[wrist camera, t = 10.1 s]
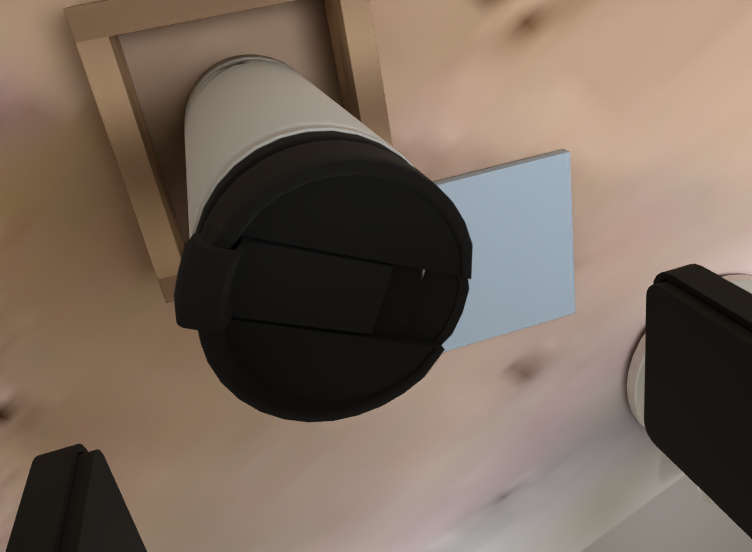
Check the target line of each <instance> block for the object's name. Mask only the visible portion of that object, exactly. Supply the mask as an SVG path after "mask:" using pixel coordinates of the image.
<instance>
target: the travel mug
mask: <svg viewBox="0 0 752 552" xmlns="http://www.w3.org/2000/svg"><path fill="white" fill-rule="evenodd" d="M184 133H185V154H186V175H187V196H188V217H189V238H190V239H189V241H188V242H187V244H186V245H185V247H184V250H183V254H182V258H181V261H180V265H179V269H178V273H177V279H176V285H175V290H174V303H175V312H176V321H177V324H178V325H179V326H181V327H183V328H187V329H194V330H198V333H199V337H200V342H201V345H202V348H203V350H204V353H205V356H206V359H207V362H208V363H209V365H210V366H211V368H212V369H213V371H214V372H215V374H216V375H217V377H218V378H219V380H220V381H221V383H222V384H223V385H224V386H225V387H227V388H228V389H229V390H230V391H231V392H232V393H233V394H234V395H235V396H236V397H237V398H238V399H240V400H241V401H243V402H245V403H246V404H248V405H250V406H252V407H253V408H255V409H257V410H259V411H260V412H263V413H266V414H269V415H273V416H276V417H279V418H282V419H286V420H295V421H303V422H321V421H335V420H339V419H344V418H348V417H353V416H357V415H360V414H363V413H365V412H368V411H370V410H373V409H375V408H378V407H380V406H383V405H384V404H386V403H388V402H390V401H391V400H393V399H395V398H396V397H398V396H400V395H402V394H403V393H405V392H406V391H407V390H409V389H410V388H411V387H412V386H414V385H415V384H416V383H417V382H419V381H420V380H421V379H422V378H424V377H425V375H426V374H427V373H428V371H429V370H430V369H431V367H432V366H433V365H434V363H435V362H436V361H437V359H438V358H439V357H440V355H441V354H442V353H443V351H444V350H445V349H444V348H443V346H442V344H443V343H444V342H445V341H446V340H447V339H448V338H449V337H450V336H451V335H452V334H453V332H454V330H455V328H456V326H457V324H458V321H459V319H460V317H461V315H462V313H463V310H464V307H465V303H466V299H467V296H468V292H469V282H468V279H471V276H472V252H473V244H472V241H471V238H470V235H469V232H468V229H467V226H466V223H465V221H464V219H463V218H462V216H461V214H460V213H459V211H458V209H457V208H456V206H455V204H454V203H453V201H452V200H451V199H450V198H449V197H448V196H447V195H446V194H445V193H444V192H443V191H442V190H441V189H440V188H439V187H438V186H437V185H436V184H435V183H434V182H432V181H431V180H430V179H428V178H427V177H426V176H425V175H423V174H422V173H421V172H420V171H418V170H417V169H416V168H415V167H414V166H413V165H412V164H411V163H410V162H409V161H408V160H407V159H406V158H405V157H404V156H403V155H402V154H401V153H400V152H398V151H397V150H396V149H394V148H393V147H392V146H391V145H389V144H388V143H387V142H386V141H384V140H383V139H382V138H381V137H379V136H378V135H377V134H375V133H374V132H373V131H372V130H370V129H369V128H368V127H367V126H365V125H364V124H363V123H361V122H360V121H359V120H358V119H356V118H355V117H354V116H352V115H351V114H350V113H349V112H347V111H346V110H345V109H344V108H342V107H341V106H340V105H338V104H337V103H336V102H335V101H333V100H332V99H331V98H330V97H328V96H327V95H326V94H324V93H323V92H322V91H321V90H319V89H318V88H317V87H315V86H314V85H313V84H312V83H310V82H309V81H308V80H307V79H305V78H304V77H303V76H301V75H300V74H299V73H298V72H296V71H295V70H294V69H292V68H291V67H289V66H288V65H286V64H285V63H283V62H280V61H278V60H276V59H273V58H271V57H266V56H260V55H241V56H236V57H232V58H228V59H226V60H224V61H222V62H219V63H217V64H216V65H214V66H213V67H212V68H210V69H209V70H208V71H206V72H205V73H204V74H203V75H202V76H201V78H200V79H199V80H198V81H197V82H196V84H195V86H194V87H193V89H192V91H191V93H190V94H189V98H188V101H187V104H186V107H185V116H184Z"/></svg>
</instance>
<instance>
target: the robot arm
mask: <svg viewBox="0 0 752 552" xmlns="http://www.w3.org/2000/svg"><path fill="white" fill-rule="evenodd" d="M627 395H628V402H629V405H630V408H631V411H632V413H633V415H634V416H635V418H636V419H637V420H638V422H639V423H640V424H641V425H642V426H643V427H644V428H645V429H646V431H647V434H648V436H649V437H650V439H651V440H652V442H653V443H654V444H655V445H656V446H657V447H658V448H659V449H660V450H661V451H662V452H663V453H664V454H665V455H666V456H667V457H668V458H669V459H670V460H671V461H672V462H673V463H675V464H676V465H677V466H678V467H679V468H680V469H681V470H682V471H683V472H684V473H685V474H686V475H687V476H688V477H689V478H690V479H691V480H692V481H693V482H694V483H695V484H696V485H697V486H698V488H697V491H698V495H699V496H700V497H701V498H702V499H703V500H704V501H707V502H709V503H714V504H717V505H718V506H719V507H720V508H721V509H722V510H723V511H724V512H725V513H726V514H727V515H728V516H729V517H730V518H731V519H732V520H733V521H734V522H735V523H736V524H737V525H738V526H739V527H740V528H741V529H742V530H743V531H744V532H745V533H746V534H747V535H748V536H749V537H751V539H752V276H750V275H744V274H741V275H727V276H723V277H721V276H719V275H717V274H715V273H713V272H711V271H710V270H708V269H706V268H704V267H702V266H700V265H697V264H689V265H686V266H683V267H679V268H676V269H672V270H669V271H666V272H662V273H660V274H658V275H657V276H656V278H655V280H654V283H653V285H651V286H650V287H649V288H648V290H647V295H646V332H645V334H644V335H643V337H642V338H641V340H640V342H639V344H638V346H637V349H636V351H635V353H634V355H633V358H632V361H631V364H630V368H629V371H628V379H627ZM6 552H147V551H146V548H145V546H144V544H143V542H142V539H141V537H140V535H139V533H138V531H137V528H136V526H135V524H134V522H133V519H132V517H131V515H130V513H129V510H128V508H127V506H126V504H125V502H124V499H123V497H122V495H121V493H120V490H119V488H118V486H117V484H116V482H115V479H114V477H113V475H112V473H111V470H110V468H109V466H108V464H107V461H106V459H105V457H104V455H103V453H102V452H101V451H100V450H98V449H97V450H94V451H90V452H88V451H87V450H86V448H85V447H84V446H83V445H82V444H76V445H73V446H69V447H66V448H62V449H59V450H56V451H52V452H49V453H45V454H42V455H38V456H37V457H35V458H34V460H33V462H32V465H31V468H30V472H29V475H28V478H27V482H26V485H25V488H24V492H23V495H22V498H21V502H20V505H19V508H18V512H17V515H16V519H15V522H14V525H13V529H12V532H11V535H10V539H9V542H8V545H7V549H6Z"/></svg>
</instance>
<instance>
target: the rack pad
mask: <svg viewBox="0 0 752 552" xmlns="http://www.w3.org/2000/svg"><path fill="white" fill-rule="evenodd" d="M434 183H435V184H436V185H437V186H438V187H439V188H440V189H441V190H442V191H443V192H444V193H445V194H446V195H447V196H448V197H449V198H450V199H451V200H452V201H453V203H454V204H455V206H456V208H457V209H458V211H459V213H460V214H461V216H462V218H463V219H464V221H465V223H466V226H467V229H468V232H469V235H470V238H471V241H472V244H473V252H472V276H471V279H468V282H469V292H468V296H467V299H466V303H465V307H464V310H463V313H462V315H461V317H460V319H459V321H458V324H457V326H456V328H455V330H454V332H453V334H452V335H451V336H450V337H449V338H448V339H447V340H446V341H445V342H444V343H443V344H442V346H443V348H444V349H445V350H444V351H443V352H446V351H449V350H453V349H456V348H459V347H463V346H466V345H469V344H473V343H476V342H480V341H483V340H486V339H490V338H493V337H496V336H500V335H503V334H506V333H510V332H513V331H516V330H520V329H523V328H527V327H530V326H533V325H537V324H540V323H543V322H547V321H550V320H553V319H557V318H560V317H563V316H567V315H570V314H574V313H575V288H574V259H573V229H572V200H571V170H570V152H569V151H567V150H565V149H563V150H559V151H555V152H551V153H547V154H543V155H539V156H535V157H531V158H527V159H523V160H519V161H515V162H511V163H507V164H503V165H499V166H495V167H491V168H487V169H483V170H479V171H475V172H471V173H467V174H463V175H459V176H455V177H451V178H447V179H443V180H439V181H435V182H434Z"/></svg>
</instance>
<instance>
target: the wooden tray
mask: <svg viewBox="0 0 752 552" xmlns="http://www.w3.org/2000/svg"><path fill="white" fill-rule="evenodd" d="M289 1H294V0H103V1H97V2H92V3H86V4H81V5H76V6H72V7H68V8H65V9H64V11H65V14H66V17H67V20H68V23H69V26H70V29H71V32H72V34H73V37H74V40H75V43H76V46H77V49H78V52H79V54H80V57H81V60H82V63H83V66H84V69H85V72H86V75H87V77H88V80H89V83H90V86H91V89H92V92H93V95H94V98H95V100H96V103H97V106H98V109H99V112H100V115H101V118H102V120H103V123H104V126H105V129H106V132H107V135H108V138H109V141H110V143H111V146H112V149H113V152H114V155H115V158H116V161H117V164H118V166H119V169H120V172H121V175H122V178H123V181H124V184H125V186H126V189H127V192H128V195H129V198H130V201H131V204H132V207H133V209H134V212H135V215H136V218H137V221H138V224H139V227H140V230H141V232H142V235H143V238H144V241H145V244H146V247H147V250H148V252H149V255H150V258H151V261H152V264H153V267H154V270H155V273H156V275H157V278H158V281H159V284H160V287H161V290H162V293H163V296H164V298H165V301H166V303H168V302H172V301H174V290H175V285H176V279H177V273H178V269H179V265H180V261H181V258H182V254H183V250H184V247H185V245H186V244H184V241H183V238H182V235H181V232H180V229H179V226H178V223H177V220H176V216H175V213H174V210H173V207H172V204H171V201H170V198H169V195H168V191H167V188H166V185H165V182H164V179H163V176H162V173H161V170H160V166H159V163H158V160H157V157H156V154H155V151H154V148H153V145H152V141H151V138H150V135H149V132H148V129H147V126H146V123H145V120H144V116H143V113H142V110H141V107H140V104H139V101H138V98H137V95H136V91H135V88H134V85H133V82H132V79H131V76H130V73H129V70H128V66H127V63H126V60H125V57H124V54H123V51H122V48H121V45H120V41H119V38H118V35H119V34H124V33H129V32H135V31H140V30H145V29H150V28H155V27H160V26H165V25H171V24H176V23H181V22H186V21H191V20H196V19H201V18H207V17H212V16H217V15H222V14H227V13H232V12H237V11H242V10H248V9H253V8H258V7H263V6H268V5H273V4H278V3H284V2H289ZM324 4H325V10H326V15H327V20H328V26H329V31H330V37H331V42H332V48H333V53H334V58H335V64H336V69H337V75H338V80H339V86H340V91H341V96H342V102H343V107H344V109H345V110H346V111H347V112H349V113H350V114H351V115H352V116H354V117H355V118H356V119H358V120H359V121H360V122H361V123H363V124H364V125H365V126H367V127H368V128H369V129H370V130H372V131H373V132H374V133H375V134H377V135H378V136H379V137H381V138H382V139H383V140H384V141H386V142H387V143H388V144H389V145H391V146H392V140H391V134H390V127H389V121H388V114H387V108H386V102H385V95H384V89H383V82H382V76H381V69H380V63H379V57H378V50H377V44H376V37H375V31H374V24H373V18H372V12H371V5H370V0H324Z"/></svg>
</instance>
